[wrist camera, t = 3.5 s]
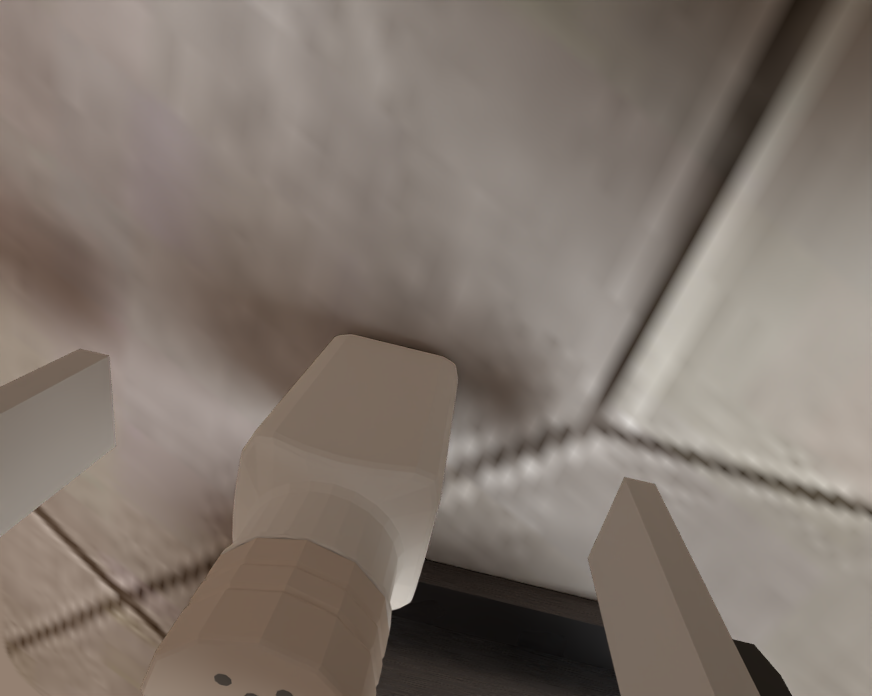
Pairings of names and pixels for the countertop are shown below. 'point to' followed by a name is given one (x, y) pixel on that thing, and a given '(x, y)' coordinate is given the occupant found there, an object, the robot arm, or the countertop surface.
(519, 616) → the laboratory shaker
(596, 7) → the countertop surface
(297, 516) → the pepper shaker
